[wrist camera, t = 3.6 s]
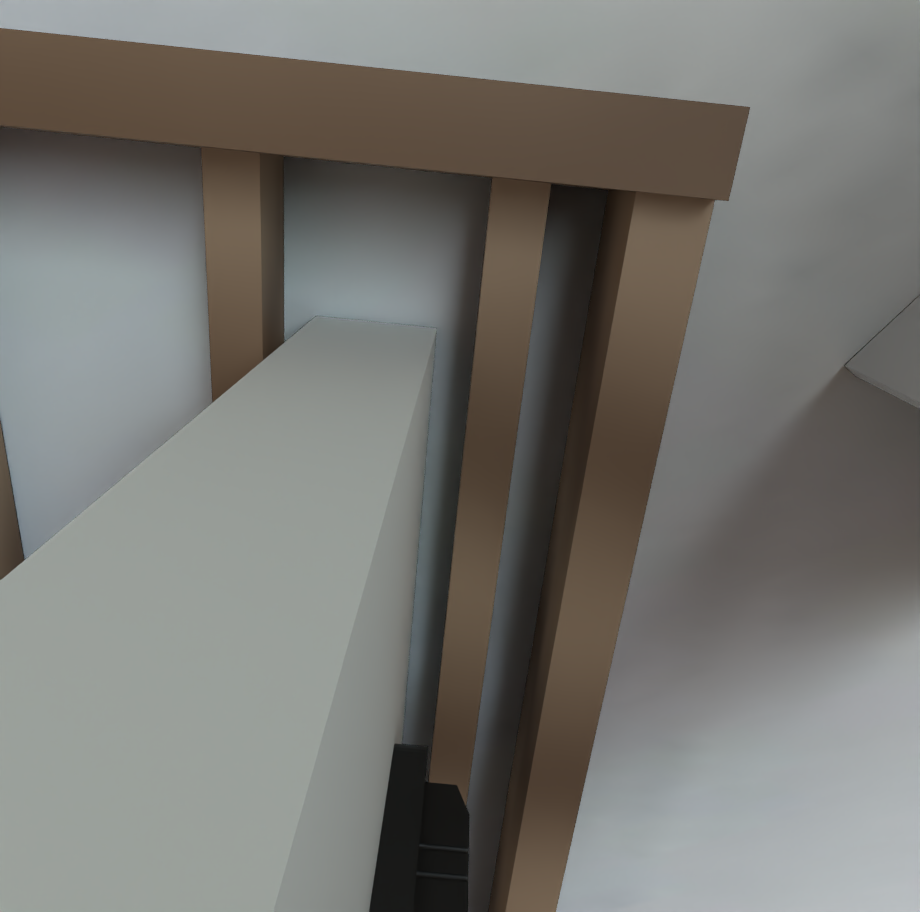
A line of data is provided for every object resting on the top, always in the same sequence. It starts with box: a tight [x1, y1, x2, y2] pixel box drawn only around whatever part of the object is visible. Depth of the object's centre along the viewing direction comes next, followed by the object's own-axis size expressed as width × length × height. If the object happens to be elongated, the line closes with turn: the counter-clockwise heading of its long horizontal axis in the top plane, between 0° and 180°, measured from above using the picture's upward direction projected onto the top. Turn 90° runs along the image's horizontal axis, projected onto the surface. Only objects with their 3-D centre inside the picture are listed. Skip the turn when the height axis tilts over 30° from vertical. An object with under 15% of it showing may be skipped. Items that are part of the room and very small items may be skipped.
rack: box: [0, 28, 750, 912], centre depth 13 cm, size 21×19×2 cm
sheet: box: [0, 316, 437, 912], centre depth 9 cm, size 14×2×10 cm, turn 174°
